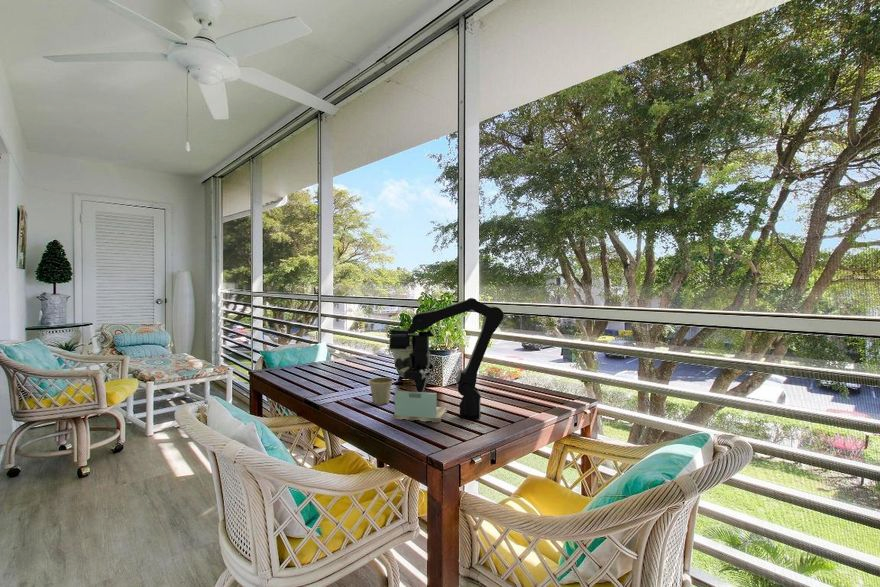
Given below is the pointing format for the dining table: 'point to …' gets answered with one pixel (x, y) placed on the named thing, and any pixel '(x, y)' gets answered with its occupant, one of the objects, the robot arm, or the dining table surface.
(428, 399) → the panel
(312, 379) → the dining table surface
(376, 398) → the flower pot
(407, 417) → the beige flat block
